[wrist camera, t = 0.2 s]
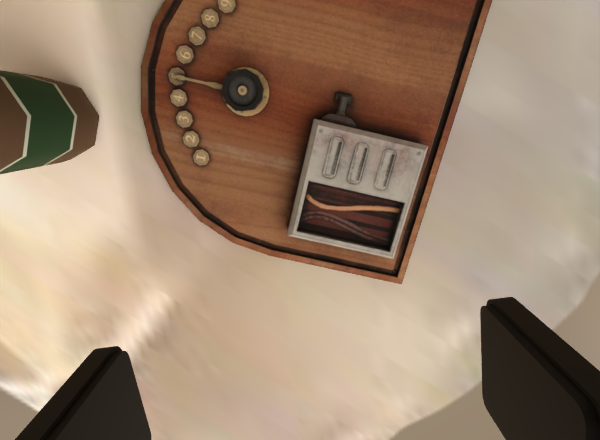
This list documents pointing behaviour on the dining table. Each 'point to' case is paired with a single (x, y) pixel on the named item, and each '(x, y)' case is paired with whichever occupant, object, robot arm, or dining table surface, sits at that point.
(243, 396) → the dining table surface
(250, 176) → the wooden control board
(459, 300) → the dining table surface
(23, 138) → the beer bottle
